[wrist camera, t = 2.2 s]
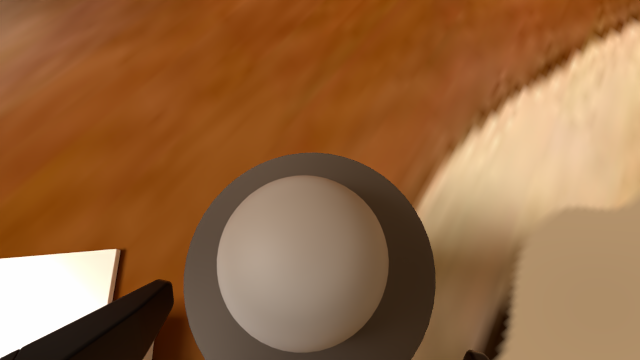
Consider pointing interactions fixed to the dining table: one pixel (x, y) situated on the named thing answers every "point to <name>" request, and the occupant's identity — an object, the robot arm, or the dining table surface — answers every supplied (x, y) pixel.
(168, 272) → the dining table surface
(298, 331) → the pepper mill
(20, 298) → the coaster
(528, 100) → the dining table surface
